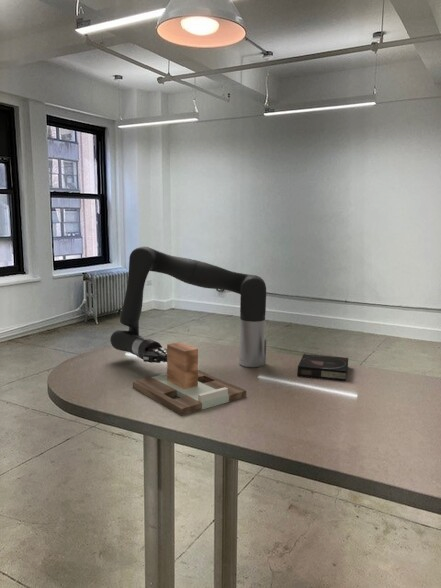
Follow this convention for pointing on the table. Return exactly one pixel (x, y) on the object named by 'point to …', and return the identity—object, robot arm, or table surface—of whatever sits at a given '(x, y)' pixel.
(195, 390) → the lane board
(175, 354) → the block
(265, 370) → the table surface
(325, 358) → the portable cd player
